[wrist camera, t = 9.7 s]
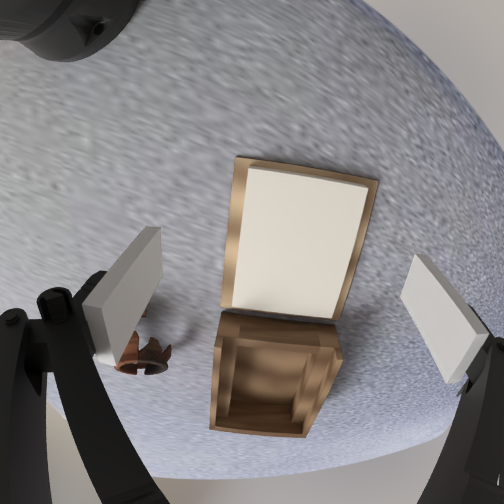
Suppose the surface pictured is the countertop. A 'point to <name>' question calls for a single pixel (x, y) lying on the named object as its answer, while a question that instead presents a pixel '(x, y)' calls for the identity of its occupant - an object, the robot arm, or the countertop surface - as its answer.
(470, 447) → the robot arm
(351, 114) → the countertop surface
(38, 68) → the countertop surface
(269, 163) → the cork mat
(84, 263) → the countertop surface
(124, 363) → the pottery mug
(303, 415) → the walnut box
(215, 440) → the countertop surface
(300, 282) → the cover plate
